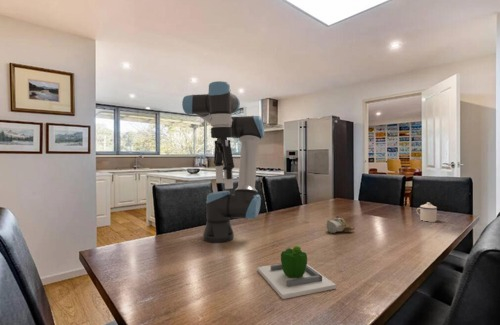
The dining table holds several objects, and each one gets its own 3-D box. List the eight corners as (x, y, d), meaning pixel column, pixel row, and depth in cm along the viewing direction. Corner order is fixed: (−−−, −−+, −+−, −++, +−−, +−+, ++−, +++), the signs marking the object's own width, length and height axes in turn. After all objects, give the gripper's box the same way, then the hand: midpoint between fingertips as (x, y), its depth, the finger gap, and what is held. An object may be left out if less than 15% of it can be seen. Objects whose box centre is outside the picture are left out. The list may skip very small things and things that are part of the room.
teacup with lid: (440, 221, 163) (440, 203, 163) (431, 223, 160) (431, 204, 160) (421, 217, 174) (421, 200, 174) (412, 219, 171) (412, 201, 171)
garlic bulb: (321, 214, 144) (341, 213, 150) (320, 230, 144) (340, 228, 150) (335, 219, 134) (356, 217, 141) (334, 236, 134) (355, 233, 141)
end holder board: (257, 270, 93) (257, 263, 93) (302, 263, 99) (302, 256, 99) (282, 299, 74) (282, 289, 74) (335, 288, 80) (335, 279, 80)
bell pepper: (276, 271, 89) (276, 242, 89) (297, 268, 92) (297, 240, 92) (288, 282, 81) (288, 250, 81) (311, 278, 84) (311, 247, 84)
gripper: (204, 128, 104) (207, 181, 106) (218, 124, 80) (222, 192, 82) (223, 128, 106) (225, 179, 108) (241, 124, 83) (244, 190, 85)
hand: (224, 185), depth 95 cm, fingers open, 13 cm apart
